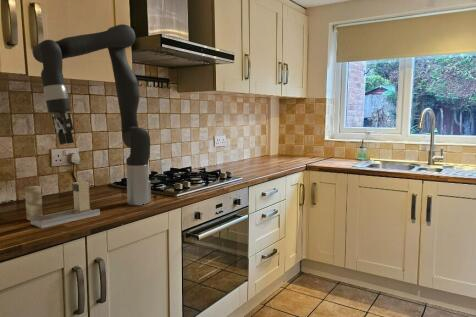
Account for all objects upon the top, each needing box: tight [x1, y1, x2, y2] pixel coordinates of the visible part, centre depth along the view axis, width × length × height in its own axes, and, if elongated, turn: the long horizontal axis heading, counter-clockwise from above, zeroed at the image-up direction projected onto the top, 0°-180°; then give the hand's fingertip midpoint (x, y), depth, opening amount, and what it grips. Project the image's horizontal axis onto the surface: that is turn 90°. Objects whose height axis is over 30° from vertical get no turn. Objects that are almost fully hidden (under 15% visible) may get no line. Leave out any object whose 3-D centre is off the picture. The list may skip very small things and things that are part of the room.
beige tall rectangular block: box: [24, 185, 44, 222], centre depth 137 cm, size 4×4×12 cm
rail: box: [30, 180, 101, 229], centre depth 136 cm, size 22×8×13 cm, turn 143°
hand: (66, 143), depth 135 cm, fingers open, 8 cm apart
